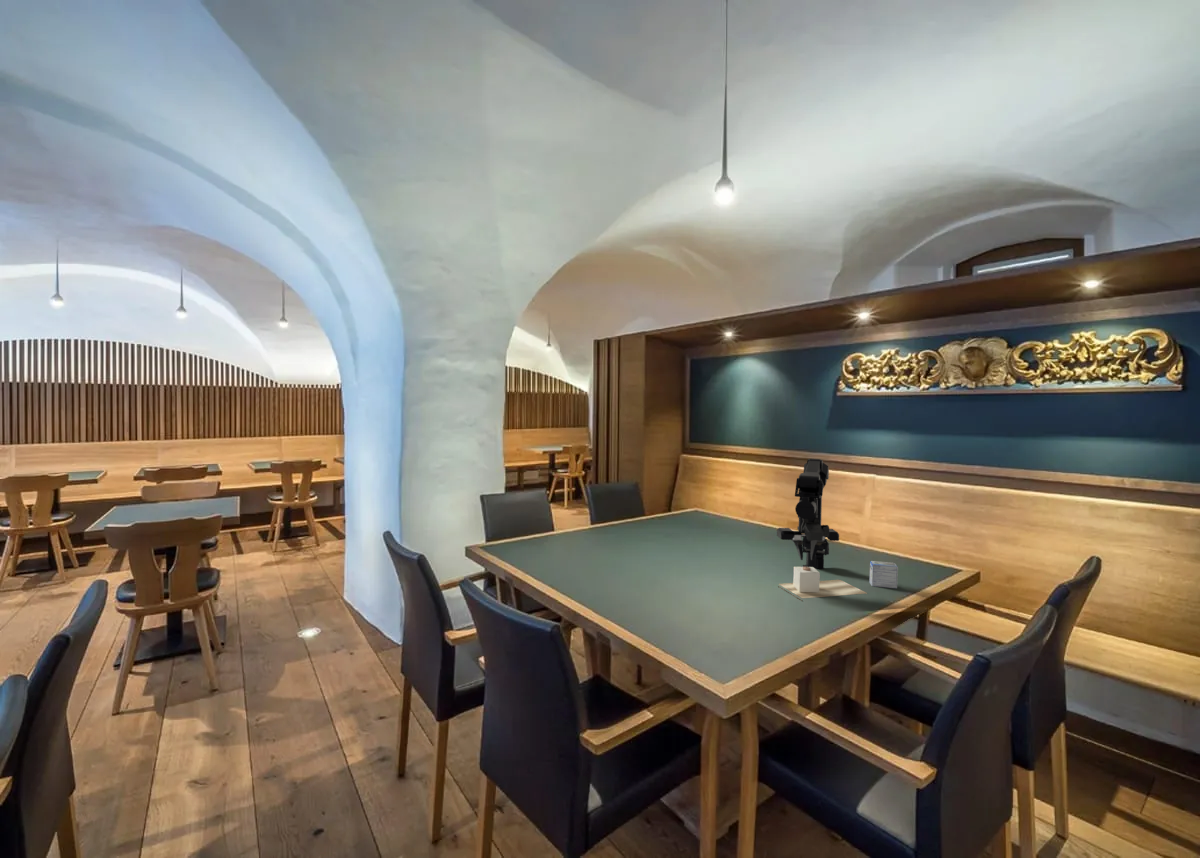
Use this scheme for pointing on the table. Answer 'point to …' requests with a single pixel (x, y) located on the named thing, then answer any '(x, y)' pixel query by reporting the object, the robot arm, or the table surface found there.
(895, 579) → the medicine box
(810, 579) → the knobbed cube
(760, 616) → the table surface
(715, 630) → the table surface
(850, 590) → the tan board
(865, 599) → the table surface
